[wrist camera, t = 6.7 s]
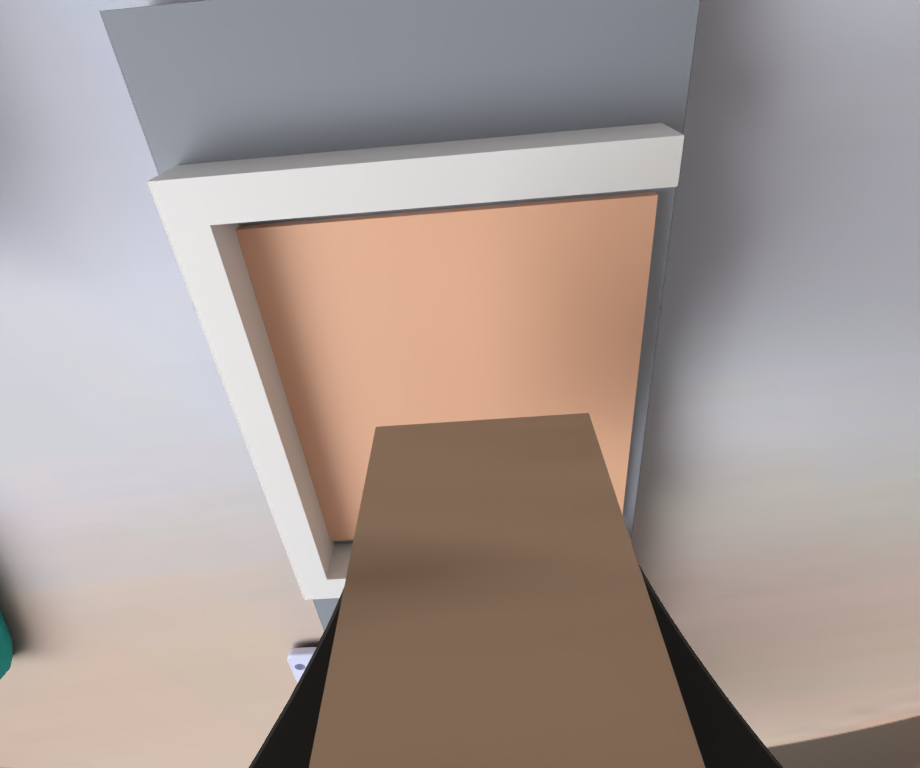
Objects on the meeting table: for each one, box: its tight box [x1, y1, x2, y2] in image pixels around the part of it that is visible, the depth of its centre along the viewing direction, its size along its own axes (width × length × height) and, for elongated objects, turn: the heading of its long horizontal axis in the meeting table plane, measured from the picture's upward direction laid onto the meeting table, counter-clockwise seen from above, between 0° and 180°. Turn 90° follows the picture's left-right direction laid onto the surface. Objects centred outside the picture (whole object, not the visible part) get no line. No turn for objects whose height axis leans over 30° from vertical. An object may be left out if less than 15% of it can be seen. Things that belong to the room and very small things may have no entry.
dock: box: [100, 0, 700, 631], centre depth 18 cm, size 24×12×4 cm, turn 5°
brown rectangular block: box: [309, 413, 705, 768], centre depth 10 cm, size 6×4×6 cm, turn 4°
